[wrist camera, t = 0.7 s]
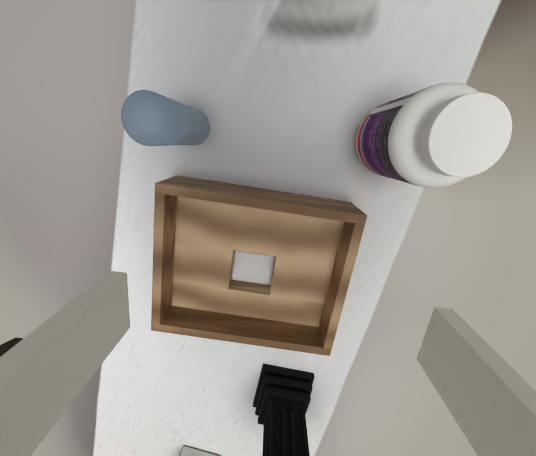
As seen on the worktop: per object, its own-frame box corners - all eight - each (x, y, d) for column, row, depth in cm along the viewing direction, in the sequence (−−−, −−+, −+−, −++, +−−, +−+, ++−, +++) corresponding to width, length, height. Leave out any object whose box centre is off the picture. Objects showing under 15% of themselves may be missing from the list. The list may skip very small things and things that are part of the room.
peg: (176, 105, 32) (121, 86, 21) (210, 111, 32) (174, 94, 21) (174, 141, 33) (121, 141, 22) (207, 146, 33) (172, 149, 22)
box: (177, 175, 34) (155, 183, 28) (350, 202, 35) (367, 215, 29) (170, 300, 40) (151, 330, 34) (321, 322, 40) (329, 355, 34)
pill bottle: (382, 187, 34) (453, 219, 21) (339, 140, 33) (385, 139, 19) (437, 139, 32) (556, 137, 19) (394, 85, 31) (489, 41, 17)
